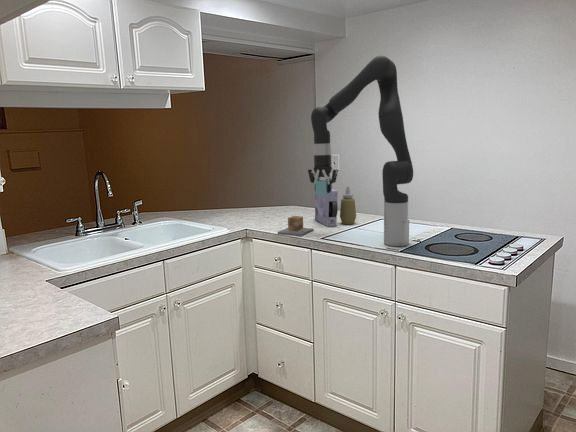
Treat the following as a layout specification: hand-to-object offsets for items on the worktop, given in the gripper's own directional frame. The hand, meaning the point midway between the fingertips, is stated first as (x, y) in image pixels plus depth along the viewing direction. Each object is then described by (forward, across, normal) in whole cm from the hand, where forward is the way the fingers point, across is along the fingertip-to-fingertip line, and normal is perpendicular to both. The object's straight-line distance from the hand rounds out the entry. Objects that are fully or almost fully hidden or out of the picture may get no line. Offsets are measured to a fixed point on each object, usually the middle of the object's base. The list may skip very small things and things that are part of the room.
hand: (323, 192), depth 206 cm
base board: (+18, +12, +4) cm, 22 cm away
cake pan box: (+18, +8, -19) cm, 27 cm away
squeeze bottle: (+18, -2, -23) cm, 29 cm away
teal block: (+1, 0, 0) cm, 1 cm away
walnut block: (+17, +12, +4) cm, 22 cm away
